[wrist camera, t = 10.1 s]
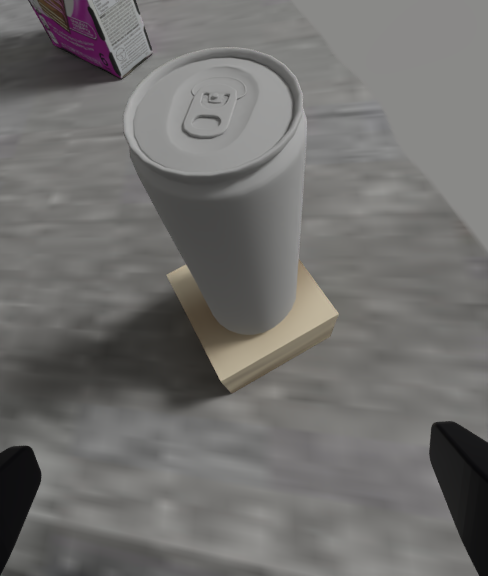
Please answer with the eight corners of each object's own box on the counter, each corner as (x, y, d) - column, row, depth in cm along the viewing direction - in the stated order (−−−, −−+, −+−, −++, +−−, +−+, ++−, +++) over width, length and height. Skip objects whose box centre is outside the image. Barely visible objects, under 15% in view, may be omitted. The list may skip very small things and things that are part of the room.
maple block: (330, 336, 22) (338, 313, 19) (231, 393, 22) (220, 381, 18) (272, 253, 25) (270, 220, 22) (183, 301, 25) (166, 275, 21)
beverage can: (302, 264, 20) (322, 46, 9) (288, 346, 18) (291, 192, 8) (220, 252, 21) (151, 40, 10) (198, 329, 19) (86, 170, 8)
